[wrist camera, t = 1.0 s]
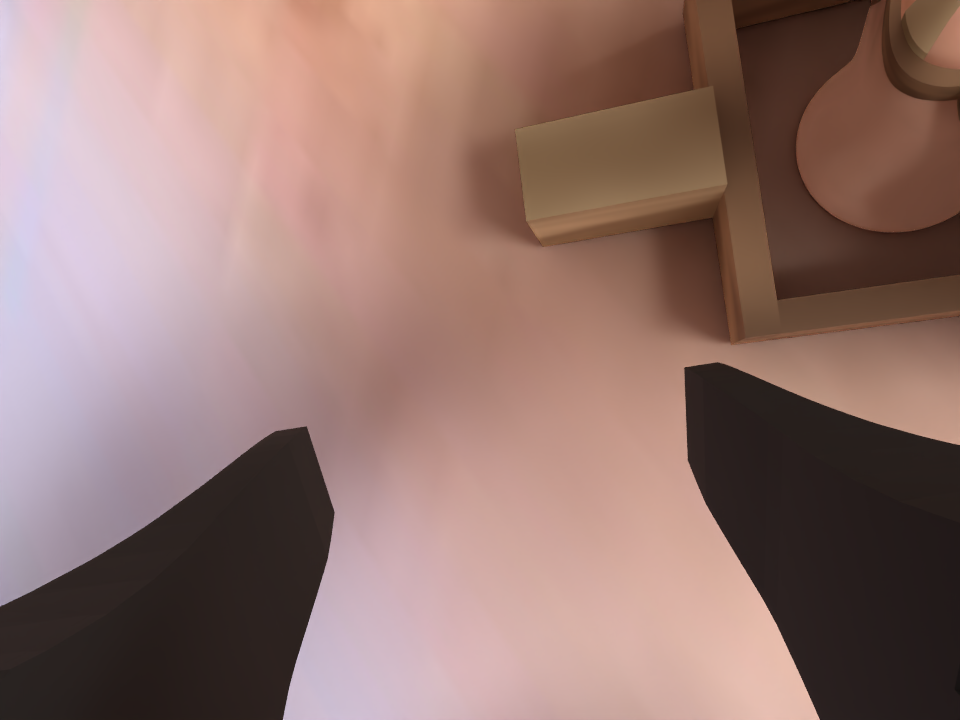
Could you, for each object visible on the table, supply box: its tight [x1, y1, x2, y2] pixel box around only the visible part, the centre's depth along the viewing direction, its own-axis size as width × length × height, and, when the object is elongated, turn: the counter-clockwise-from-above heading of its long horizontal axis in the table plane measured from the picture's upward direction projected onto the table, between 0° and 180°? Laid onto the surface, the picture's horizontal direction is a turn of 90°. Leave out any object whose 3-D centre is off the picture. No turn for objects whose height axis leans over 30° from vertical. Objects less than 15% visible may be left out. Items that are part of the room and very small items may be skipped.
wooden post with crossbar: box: [515, 0, 960, 345], centre depth 20 cm, size 12×18×4 cm, turn 97°
